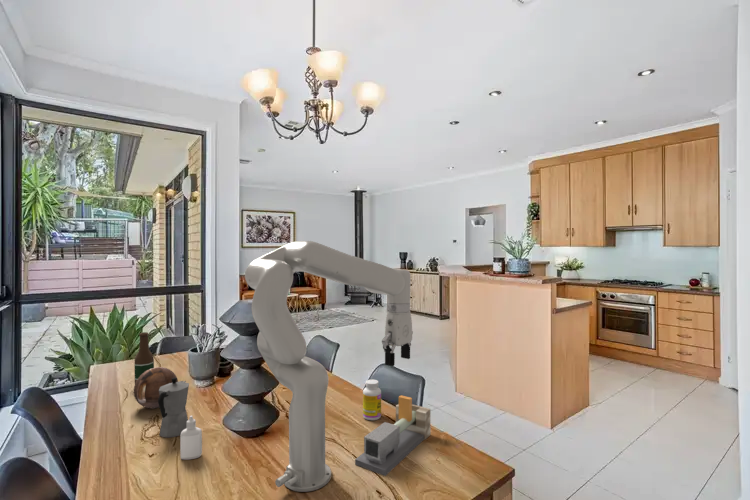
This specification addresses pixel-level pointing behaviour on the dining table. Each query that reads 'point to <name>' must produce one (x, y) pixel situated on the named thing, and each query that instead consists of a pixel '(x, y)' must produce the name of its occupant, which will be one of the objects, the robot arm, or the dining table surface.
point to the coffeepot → (173, 408)
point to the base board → (392, 459)
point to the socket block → (419, 420)
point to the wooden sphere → (152, 386)
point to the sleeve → (381, 442)
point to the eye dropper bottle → (191, 441)
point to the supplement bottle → (372, 400)
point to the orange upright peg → (405, 413)
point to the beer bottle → (143, 357)
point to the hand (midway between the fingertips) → (397, 361)
